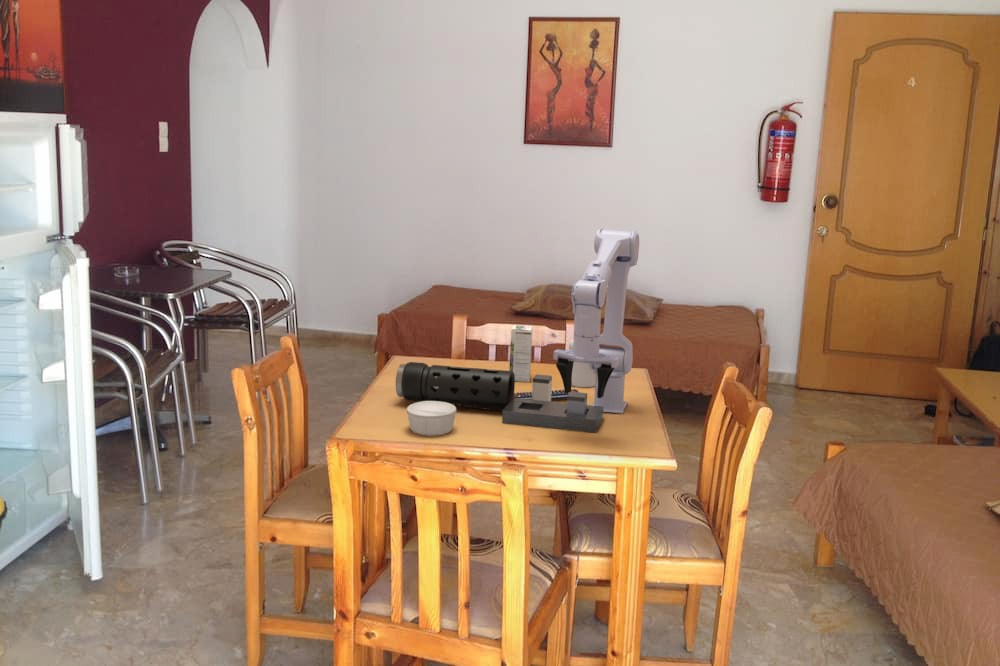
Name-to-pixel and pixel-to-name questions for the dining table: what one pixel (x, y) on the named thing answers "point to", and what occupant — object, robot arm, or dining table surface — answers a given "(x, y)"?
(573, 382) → the pill bottle
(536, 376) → the plug
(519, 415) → the block
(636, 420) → the dining table surface
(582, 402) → the twin plug
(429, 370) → the muzzle brake
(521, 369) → the syrup box
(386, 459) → the dining table surface
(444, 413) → the ramekin
